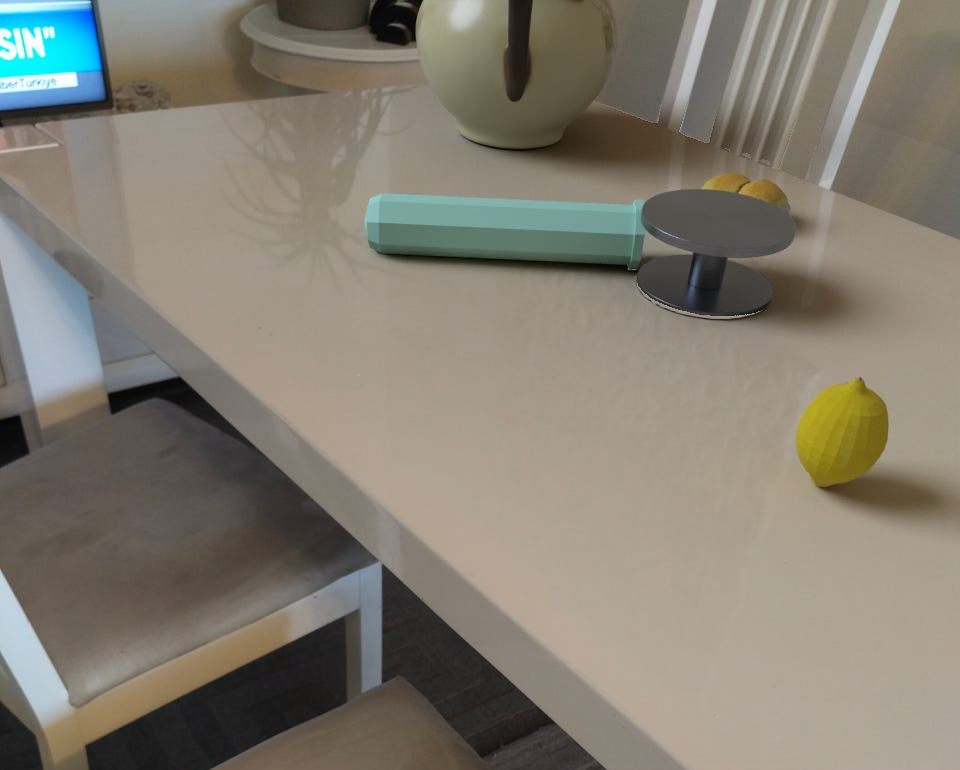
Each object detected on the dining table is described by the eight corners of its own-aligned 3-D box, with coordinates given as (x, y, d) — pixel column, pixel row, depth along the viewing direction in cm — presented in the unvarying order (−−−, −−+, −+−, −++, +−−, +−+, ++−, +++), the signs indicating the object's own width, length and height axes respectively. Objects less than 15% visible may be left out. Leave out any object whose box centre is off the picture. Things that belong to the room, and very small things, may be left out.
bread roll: (718, 196, 104) (727, 156, 101) (795, 220, 100) (806, 179, 97) (678, 216, 99) (685, 175, 96) (756, 242, 95) (766, 200, 92)
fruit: (877, 509, 64) (922, 401, 58) (795, 508, 63) (832, 399, 58) (850, 461, 68) (889, 356, 62) (772, 460, 67) (805, 354, 62)
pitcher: (520, 95, 126) (538, -152, 109) (651, 148, 114) (695, -121, 96) (378, 122, 116) (372, -147, 98) (505, 184, 103) (524, -112, 86)
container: (359, 184, 84) (648, 197, 84) (368, 188, 90) (639, 201, 90) (359, 257, 86) (641, 271, 86) (368, 257, 92) (633, 270, 92)
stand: (795, 282, 89) (815, 211, 84) (748, 337, 81) (767, 262, 76) (664, 247, 93) (676, 178, 89) (606, 295, 85) (616, 222, 81)
